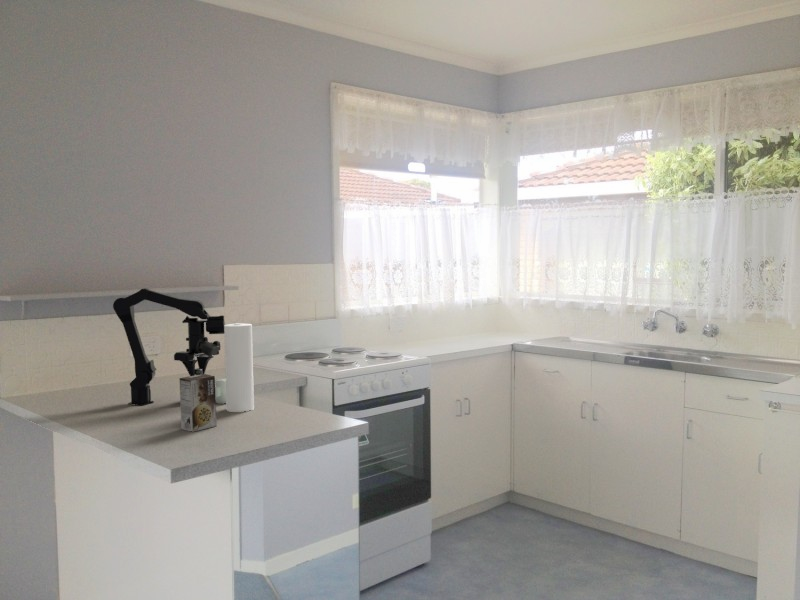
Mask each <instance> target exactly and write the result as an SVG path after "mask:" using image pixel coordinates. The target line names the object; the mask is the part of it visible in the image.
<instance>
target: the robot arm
mask: <svg viewBox="0 0 800 600" xmlns="http://www.w3.org/2000/svg"><path fill="white" fill-rule="evenodd" d="M143 301H149V302H152V303H156V304H159V305H163V306H166V307H170V308H172V309H177V311H180V312H182V313H184V314H187V315H186V317H185V318H184V319H183V320H182V323H183V324H187V332H188V333H187V334H188V335H187V336H188V337H185V341H187V342H188V348H186V350H185V351H184V350H183V351H176V352H175V353H174V354H173V361H178V362H181V363H182V364H183V366H184V367H185V369H186V371H187V372H188V374H189V376H194V375H195V369H196V363H197V364H198V368H201V369H203V374H206V369H207V367H208V364H209V361H210V360H212V359H213V358H214V356H217V355H220V351H221V342H220V341H218V340H215V341H212V342H210V341H209V339H208V336H205V335H206V334H205V332H207V333H208V334H209V335H224V325H226V322H225V315H215V316H214V315H210V314H209V313H208V312H207V311H206V310H205V305H204V303H203V301H200V300H198V299H190V298H180V297H177V296H172V295H169V294H165V293H161V292H159V291H155V290H152V289H149V288H141V289H139V291H136V292H135V293H132V294H131V295H128V296H122V297H118V298H116V299H115V300H114V301H113V304H112V308H113V311H114V312H115V314H116V316H117V317H118V319H119V320H120V322H121V323H122V326H123V329H124V331H125V335H126V338H127V340H128V344H129V346H130V350H131V353H132V357H133V360H134V371H135V372H134V373H135V378H134V379H133V380H131V382H130V383H129V387H130V399H131V402H128V403H127V404H128V405H131V404H135V405H134V406H145V405H148V403H149V404H153V403H154V400H152V395H151V386H150V383H151V381H152V380H153V379H154V378H155V376H156V371H157V368H156V366H155V361H154V359H151V360H149V358H148V357H147V354H146V351H145V348H144V346H143V342H142V340H141V339H142V338H141V335H140V333H139V329H138V325H137V323H136V320H135V306H136V305H138V304H140V303H141V302H143ZM189 316H190V317H189ZM199 319H200V320H199ZM144 404H145V405H144Z"/></svg>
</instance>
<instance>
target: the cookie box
mask: <svg viewBox="0 0 800 600" xmlns="http://www.w3.org/2000/svg"><path fill="white" fill-rule="evenodd" d="M215 380H216V378H215V375H211V374H207V373H205V374H200V375H194V376H190V375H189V376H184V377H183V376H182V377H179V397H180V398H179V399H180V424H181V425H180V426H181V428H180V429H182V430H184V431H188V432H191V431H192V433H193V432H196V431H197V432H198V431H202V430H205V429H209V428H213V427H217V426H218V425H217V424H218V423H217V421H218V420H217V403H216V395H215Z"/></svg>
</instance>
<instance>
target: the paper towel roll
mask: <svg viewBox="0 0 800 600" xmlns="http://www.w3.org/2000/svg"><path fill="white" fill-rule="evenodd" d="M223 335H224V360H225V361H224V365H225V366H224V367H225V370H224V371H225V379H226V405H225V407H226V411H227V412H230V413H245V412H244V411H246V412H250V411H249V410H251V411H253V410H254V409H255V395H254V394H255V391H254V387H255V385H254V354H253V353H254V346H253V342H254V341H253V324H252V323H243V322H236V323H230V324H229V323H228V324H225V325H224V334H223Z"/></svg>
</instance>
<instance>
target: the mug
mask: <svg viewBox="0 0 800 600" xmlns="http://www.w3.org/2000/svg"><path fill="white" fill-rule="evenodd" d="M215 395H216V404H221V405H223V404H224V403H226V378H218V379H215Z"/></svg>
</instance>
